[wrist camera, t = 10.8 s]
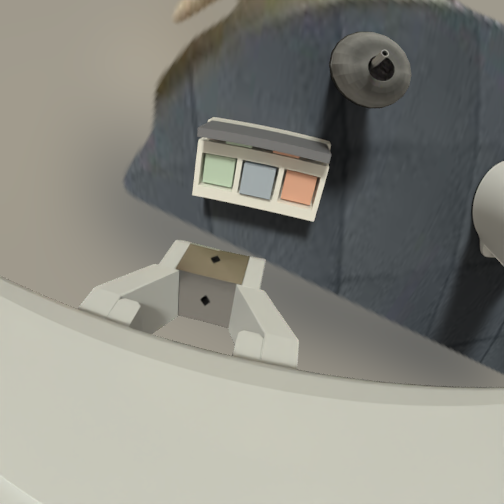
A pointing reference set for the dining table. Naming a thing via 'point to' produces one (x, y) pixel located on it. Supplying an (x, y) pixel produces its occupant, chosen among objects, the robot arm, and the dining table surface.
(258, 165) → the key slate
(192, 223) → the dining table surface
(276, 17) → the dining table surface
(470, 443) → the robot arm
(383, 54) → the beverage cup
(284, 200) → the keypad console
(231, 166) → the key sage
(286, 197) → the key terracotta
